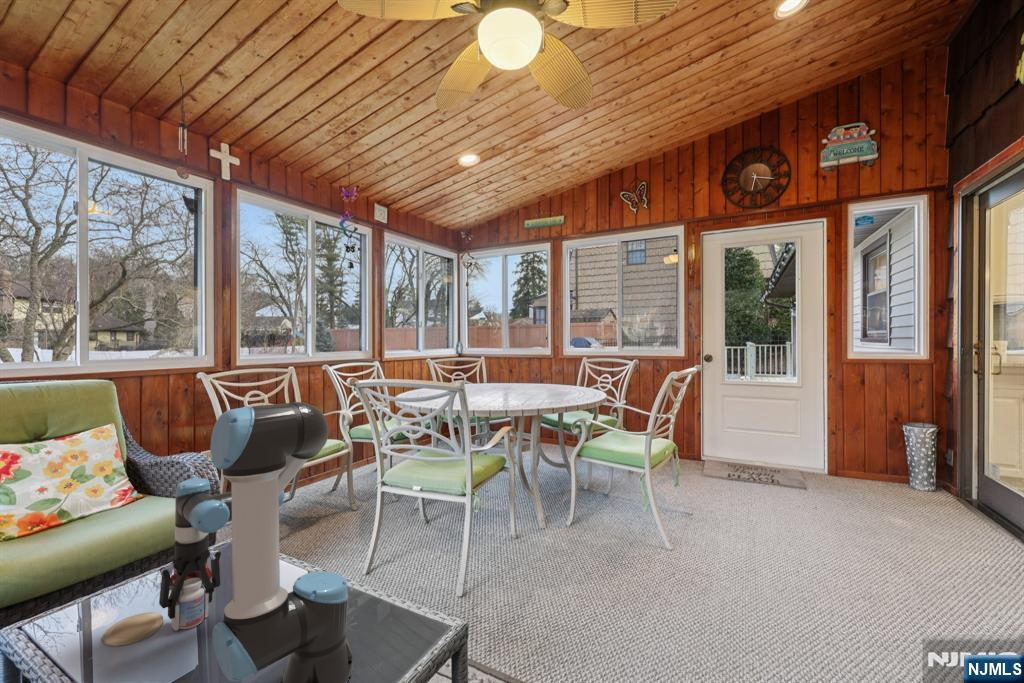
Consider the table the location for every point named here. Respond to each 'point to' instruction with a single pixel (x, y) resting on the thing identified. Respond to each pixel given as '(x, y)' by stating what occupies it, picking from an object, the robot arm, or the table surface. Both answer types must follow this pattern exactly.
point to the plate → (133, 629)
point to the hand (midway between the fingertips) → (190, 621)
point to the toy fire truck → (190, 575)
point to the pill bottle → (191, 603)
